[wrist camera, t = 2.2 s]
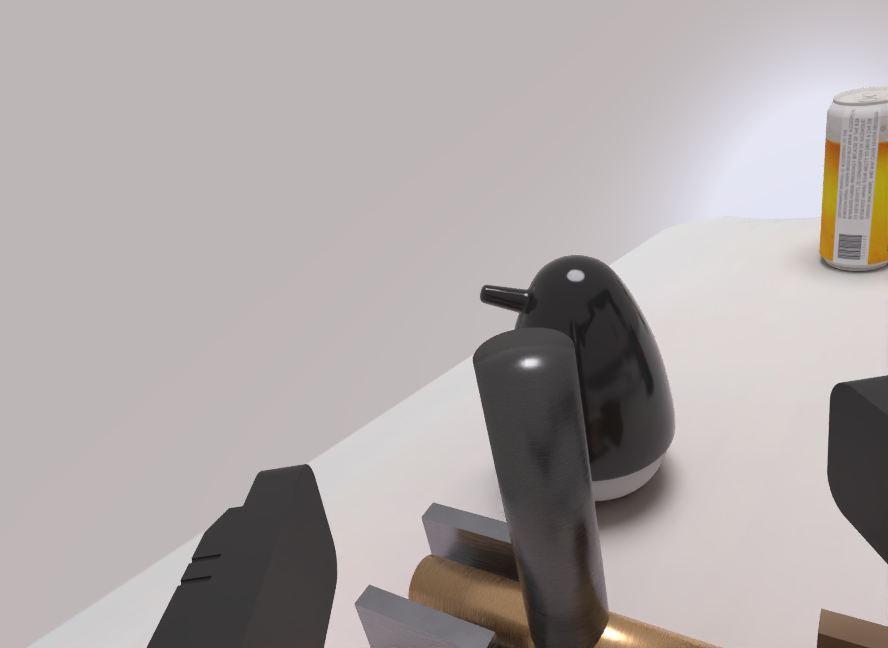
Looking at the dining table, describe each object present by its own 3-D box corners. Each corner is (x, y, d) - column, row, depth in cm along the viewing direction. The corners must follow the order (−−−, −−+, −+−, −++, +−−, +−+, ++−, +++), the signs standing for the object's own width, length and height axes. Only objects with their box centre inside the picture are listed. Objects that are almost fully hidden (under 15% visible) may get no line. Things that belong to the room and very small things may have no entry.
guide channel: (450, 567, 39) (432, 502, 37) (562, 603, 35) (550, 534, 33) (379, 671, 34) (354, 603, 32) (501, 727, 30) (482, 655, 28)
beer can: (897, 248, 63) (916, 82, 56) (893, 275, 58) (912, 99, 52) (823, 245, 66) (833, 89, 59) (814, 271, 62) (823, 106, 55)
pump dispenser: (512, 434, 49) (476, 242, 43) (657, 415, 48) (643, 214, 41) (519, 537, 40) (474, 315, 33) (697, 517, 39) (688, 281, 32)
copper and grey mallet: (452, 589, 37) (375, 312, 29) (771, 701, 28) (781, 350, 21) (417, 643, 34) (322, 354, 27) (756, 784, 26) (762, 417, 18)
